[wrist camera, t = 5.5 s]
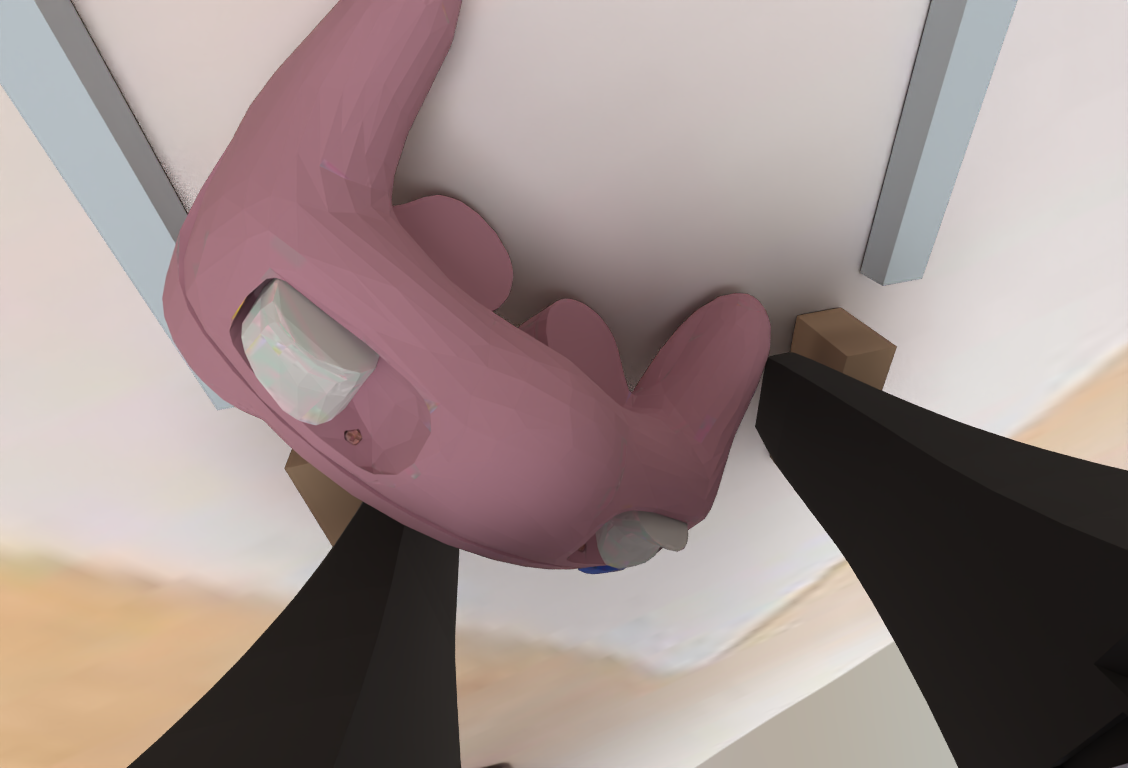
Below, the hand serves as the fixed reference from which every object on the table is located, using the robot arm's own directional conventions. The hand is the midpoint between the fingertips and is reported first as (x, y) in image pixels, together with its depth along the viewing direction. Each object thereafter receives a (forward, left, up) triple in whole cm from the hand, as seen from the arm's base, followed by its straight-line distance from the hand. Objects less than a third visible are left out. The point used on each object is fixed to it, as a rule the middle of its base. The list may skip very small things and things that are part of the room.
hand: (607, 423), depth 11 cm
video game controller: (+3, +1, -2) cm, 4 cm away
